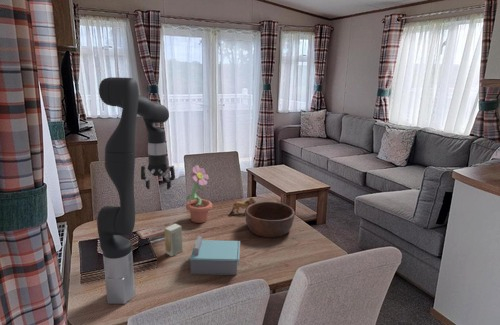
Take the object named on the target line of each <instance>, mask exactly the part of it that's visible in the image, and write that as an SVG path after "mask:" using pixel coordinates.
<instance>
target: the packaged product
mask: <svg viewBox="0 0 500 325" xmlns="http://www.w3.org/2000/svg"><path fill="white" fill-rule="evenodd" d="M171 225H172V224H170V223H165V224H161V225H156V226H153V227H149V228H145V229H142V230H138V231H136V232H135V235H136V234H137V235H139V236H140V238H141V239H146V238H149V240H150V242H151V244H155V243H159V242H162V241H165V230H164V228H166V227H168V226H171ZM151 244H150V245H151Z"/></svg>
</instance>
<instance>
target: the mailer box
mask: <svg viewBox="0 0 500 325" xmlns="http://www.w3.org/2000/svg"><path fill="white" fill-rule="evenodd" d="M189 260H190V259H189ZM237 272H238V252H237V261H211V260H190V274H191V275H217V276H218V275H219V276H220V275H223V276H224V275H227V276H229V275H231V276H237V275H238V274H237Z"/></svg>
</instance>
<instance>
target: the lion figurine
mask: <svg viewBox="0 0 500 325" xmlns="http://www.w3.org/2000/svg"><path fill="white" fill-rule="evenodd" d="M253 203H257V200H256V197H254V196H253V197H249V199H248V200H246V201H243V202H241V201H235V202H234V203H233V205H232V210H231V211H230V213H235V212H236V214H237V215H240V213H241V212H239V210H240V209H244V210H245V209H246V207H247V206H249V205H251V204H253Z"/></svg>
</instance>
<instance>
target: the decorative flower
mask: <svg viewBox="0 0 500 325" xmlns="http://www.w3.org/2000/svg"><path fill="white" fill-rule="evenodd" d="M191 170H192V172H191V173H190V177H191V178H192V180H193V182H194V184H193V186H192V191H191V194H189V195H187V197H186V201H187V203H186V205H185V209H186V210H187V211H188V212H190V213H189V214H190V220H191V222H193V223H195V224H202V223H205V222H207V220H208V215H209V211H211V210H212V208H213V203H212V202H211V201H210V200H209V199H203V198H201V197H199V196H198V195H197V193H196V191H197V189H198V190H200V191H202V190H203V187H201V186H207V185H208V180H209V179H210V177H209V175H208V173H206V172H207V171H206V170H205V168H203V167H200V166H199V164H196V165H195V166H193V167H192V169H191ZM190 199H191V200H190Z"/></svg>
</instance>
